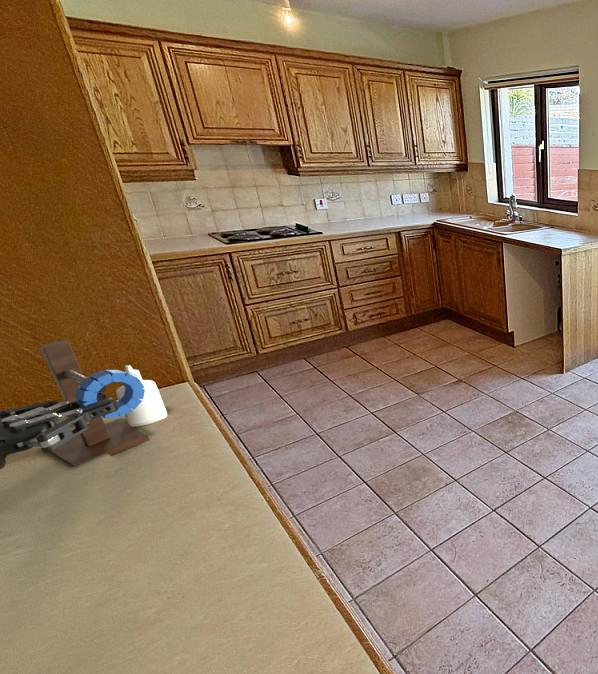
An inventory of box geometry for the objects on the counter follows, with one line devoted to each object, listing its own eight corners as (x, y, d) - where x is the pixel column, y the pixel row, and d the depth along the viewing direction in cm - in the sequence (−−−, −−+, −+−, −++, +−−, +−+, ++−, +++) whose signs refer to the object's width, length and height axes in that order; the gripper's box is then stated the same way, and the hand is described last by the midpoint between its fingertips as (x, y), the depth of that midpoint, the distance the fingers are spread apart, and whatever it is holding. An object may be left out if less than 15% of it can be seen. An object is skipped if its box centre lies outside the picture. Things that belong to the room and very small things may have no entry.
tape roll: (113, 421, 76) (61, 402, 70) (147, 383, 79) (101, 361, 73) (120, 425, 75) (69, 405, 69) (155, 385, 78) (109, 364, 73)
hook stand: (47, 453, 82) (-6, 348, 74) (120, 424, 91) (79, 327, 82) (95, 483, 76) (43, 372, 68) (169, 449, 85) (130, 347, 77)
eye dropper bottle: (161, 424, 91) (140, 369, 86) (124, 428, 89) (101, 373, 85) (171, 412, 95) (152, 359, 90) (136, 416, 93) (114, 362, 88)
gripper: (-59, 454, 56) (126, 390, 70) (-101, 422, 61) (79, 369, 75) (-28, 503, 59) (143, 432, 73) (-72, 469, 64) (97, 409, 78)
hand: (110, 400), depth 74 cm, fingers closed on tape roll, 2 cm apart
